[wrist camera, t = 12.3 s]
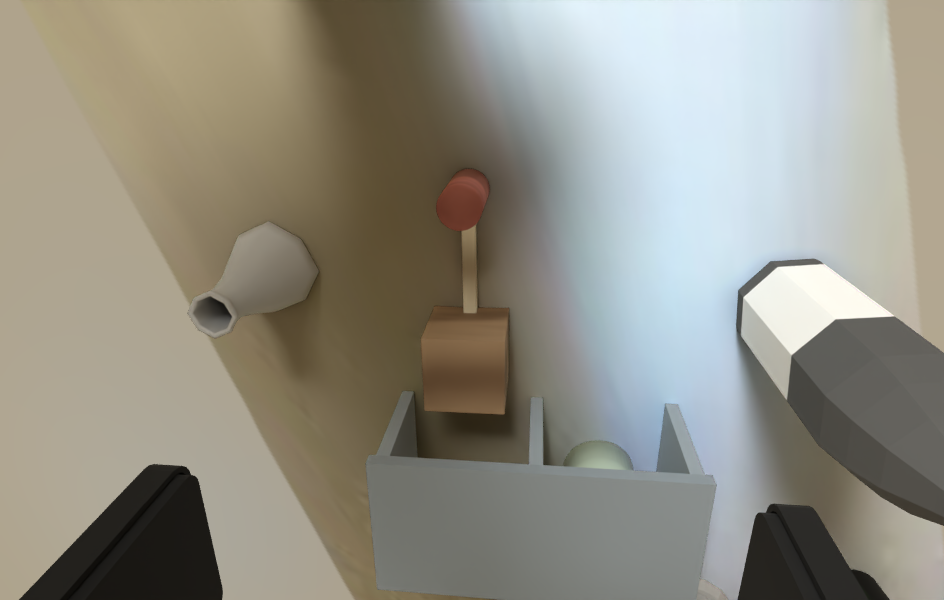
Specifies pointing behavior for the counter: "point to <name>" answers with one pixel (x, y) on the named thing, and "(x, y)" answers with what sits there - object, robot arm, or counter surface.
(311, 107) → the counter surface
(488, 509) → the lane shelf
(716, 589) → the french press
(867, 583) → the cup
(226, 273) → the flask
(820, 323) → the wine bottle
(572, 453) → the jar
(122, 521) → the robot arm
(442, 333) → the block
